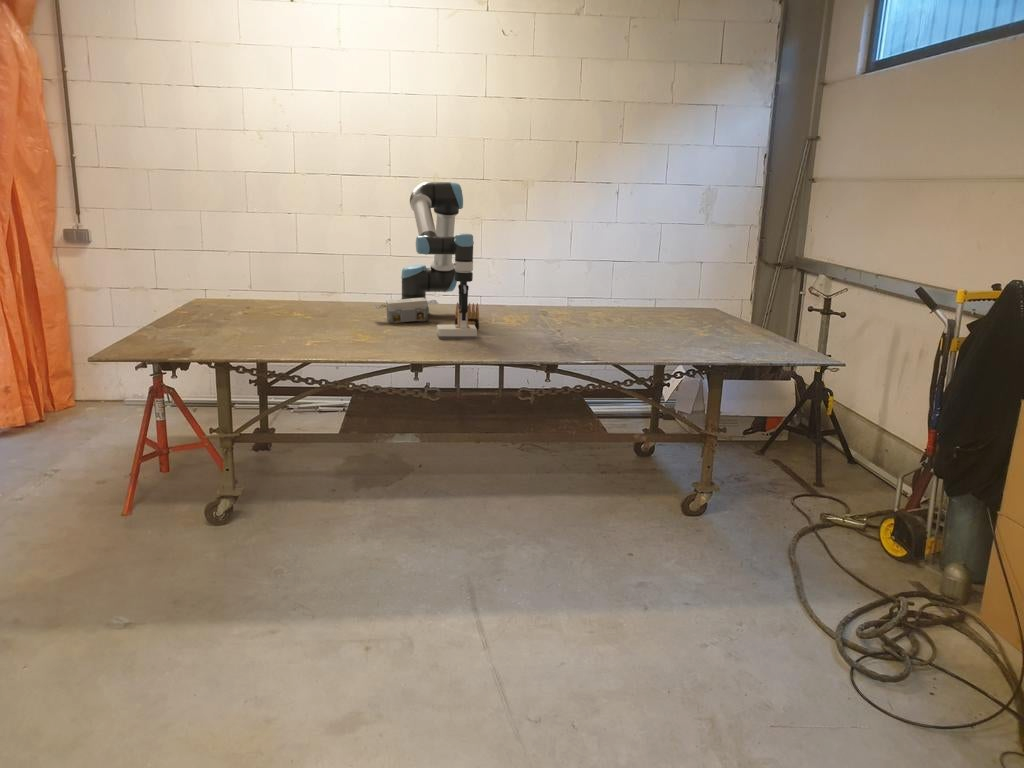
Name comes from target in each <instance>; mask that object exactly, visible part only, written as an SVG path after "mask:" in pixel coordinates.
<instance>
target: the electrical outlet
mask: <svg viewBox="0 0 1024 768" xmlns="http://www.w3.org/2000/svg"><path fill="white" fill-rule="evenodd" d="M385 301H386V302H385V303H383V304H380V303H379V304H375V305H374V307H376V309H383V308H386V316H387V317H386V318H387V319H386V320H387V322H388V323H390V324H399V323H407V322H420V323H423V322H427V321H428V315H429V314H427V306H428V307H429V304H430V305H431V304H432V305H436V304H437V305H438V304H439V302H438V301H437V299H432V300H427V298H426V299H425V298H411V299H401V298H399V299H387V300H385Z"/></svg>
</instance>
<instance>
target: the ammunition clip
mask: <svg viewBox="0 0 1024 768" xmlns="http://www.w3.org/2000/svg"><path fill="white" fill-rule="evenodd" d="M458 305H459V301H458V302H456V305H455V318H454V319H455V320H454V321H455V322H454V325H458ZM479 311H480V310H479V303H476V305H475V303H474V302H473V303H472V306H471V303H470V302H468V325H475V327H476V329H477V331H479V330H480V321H479V320H480V312H479Z"/></svg>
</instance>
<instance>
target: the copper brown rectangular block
mask: <svg viewBox="0 0 1024 768" xmlns="http://www.w3.org/2000/svg"><path fill="white" fill-rule="evenodd" d="M467 310H468V308H467ZM459 311H461V305H458V326H457V328H460V313H459ZM467 328H468V312H467Z"/></svg>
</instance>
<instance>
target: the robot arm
mask: <svg viewBox="0 0 1024 768" xmlns="http://www.w3.org/2000/svg"><path fill="white" fill-rule="evenodd" d="M409 206H410V209H411V210H412V211H413V212H414V213H413V214H414V218H415V224H416V228H417V233H418V236H416V239H415V252H416V253H417V254H419V255H425V256H426V255H434V258H433V261H432V262H430V267H426V264H413V265H411V264H410V265H408V266H405V267H403V268H402V269H401V277H400V278H401V298H400V299H411V298H425V299H426V300H427V297H426V295H427V293H448V292H454V290H456V287H457V288H458V304H459V305H461V311H459V313H460V328H467V312H468V310H467V308H468V305H469V302H468V299H469V288H470V287H469V285H468V283H470V282H473V279H474V278H473V277H474V274H473V270H474V244H475V243H474V235H473V234H471V233H456V234H455V225H456V224H455V222H456V216H458V214H459V213H460V210H463V208H464V195H463V189H462V187H461V185H460V184H459V183H457V182H451V181H449V182H444V181H441V182H439V181H424V182H422V183H419V184H418V185H417V186H415V188H414V189H413V190H412V192H411V194H410V196H409ZM432 209H433V212H434V213H435V214H436V225H435V221H434V217H433V213H432ZM453 256H454V263H453ZM458 282H459V284H458V285H457V283H458ZM427 314H428V315H429V314H430V307H429V305H428V306H427Z"/></svg>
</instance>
